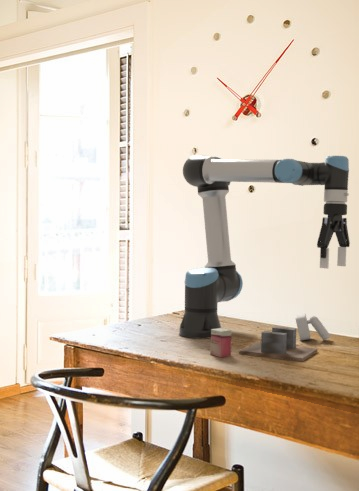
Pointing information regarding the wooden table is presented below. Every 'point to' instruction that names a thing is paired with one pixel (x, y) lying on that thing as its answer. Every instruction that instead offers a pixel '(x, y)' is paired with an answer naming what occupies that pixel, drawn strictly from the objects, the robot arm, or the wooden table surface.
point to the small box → (220, 342)
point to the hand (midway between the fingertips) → (332, 267)
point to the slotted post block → (279, 346)
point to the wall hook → (304, 329)
